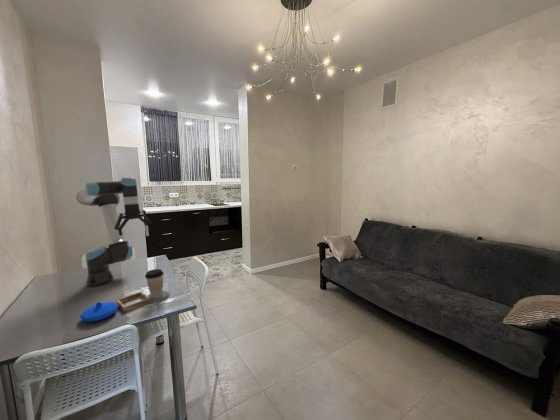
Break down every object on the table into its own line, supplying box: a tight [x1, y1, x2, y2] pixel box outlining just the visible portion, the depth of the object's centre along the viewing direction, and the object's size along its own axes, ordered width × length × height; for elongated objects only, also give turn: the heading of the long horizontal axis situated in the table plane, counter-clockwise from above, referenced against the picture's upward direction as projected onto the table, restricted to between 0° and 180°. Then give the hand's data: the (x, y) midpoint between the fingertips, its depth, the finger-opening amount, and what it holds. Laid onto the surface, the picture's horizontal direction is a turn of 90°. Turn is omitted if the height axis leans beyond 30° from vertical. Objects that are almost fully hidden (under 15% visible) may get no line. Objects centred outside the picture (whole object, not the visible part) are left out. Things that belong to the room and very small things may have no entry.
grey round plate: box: [143, 290, 170, 304], centre depth 144 cm, size 13×13×1 cm
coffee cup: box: [144, 268, 164, 299], centre depth 143 cm, size 9×9×15 cm
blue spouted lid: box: [79, 301, 119, 323], centre depth 126 cm, size 16×16×7 cm
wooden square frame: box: [115, 290, 151, 313], centre depth 138 cm, size 13×13×2 cm
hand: (135, 238), depth 151 cm, fingers open, 13 cm apart
